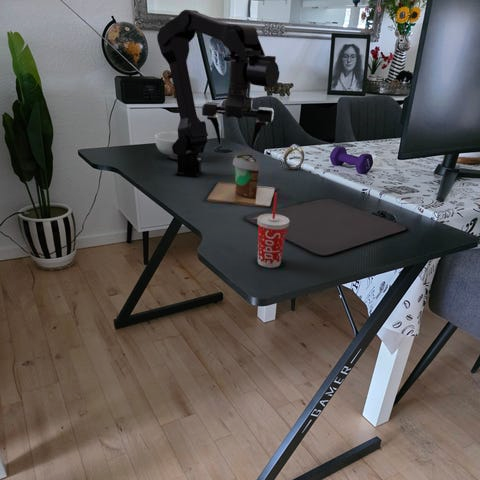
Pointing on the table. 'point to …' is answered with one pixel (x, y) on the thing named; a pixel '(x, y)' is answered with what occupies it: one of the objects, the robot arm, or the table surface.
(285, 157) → the ring
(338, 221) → the mouse pad
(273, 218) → the beverage cup
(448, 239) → the table surface
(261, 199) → the placemat
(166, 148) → the cereal bowl
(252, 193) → the food container
